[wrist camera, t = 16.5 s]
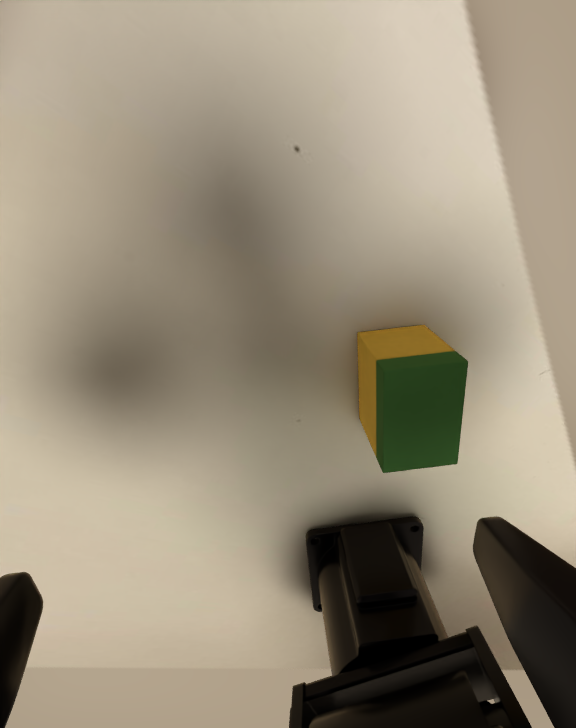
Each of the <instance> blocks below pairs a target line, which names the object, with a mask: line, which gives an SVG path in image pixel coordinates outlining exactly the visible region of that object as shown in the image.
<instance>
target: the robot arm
mask: <svg viewBox="0 0 576 728" xmlns="http://www.w3.org/2000/svg"><path fill="white" fill-rule="evenodd" d="M314 538H317V539H314ZM422 543H423V524H422V522H421V520H420V519H419V518H418V517H405V518H397V519H389V520H381V521H374V522H366V523H358V524H350V525H343V526H335V527H327V528H319V529H313V530H310V531H308V532H307V534H306V545H307V554H308V563H309V572H310V581H311V591H312V600H313V607H314V610H316V611H318V612H323V619H324V625H325V632H326V638H327V645H328V651H329V658H330V665H331V671H332V676H330V677H327V678H324V679H321V680H317V681H314V682H311V683H308V684H306V683H305V682H304V683H301V684H298V685H294V686H293V692H292V707H291V709H290V721H289V728H532V727H531V725H530V723H529V721H528V719H527V718H526V716H525V714H524V712H523V710H522V708H521V706H520V704H519V702H518V701H517V699H516V697H515V695H514V693H513V691H512V689H511V688H510V686H509V684H508V682H507V680H506V678H505V676H504V674H503V673H502V671H501V669H500V667H499V665H498V663H497V661H496V659H495V658H494V656H493V654H492V652H491V650H490V648H489V646H488V644H487V643H486V641H485V639H484V637H483V635H482V633H481V631H480V629H479V628H478V626H474V627H471V628H468V629H466V632H464V633H461V634H458V635H455V636H452V637H449V638H448V635H447V633H446V631H445V628H444V626H443V624H442V621H441V619H440V617H439V614H438V612H437V609H436V607H435V605H434V602H433V600H432V598H431V595H430V593H429V590H428V588H427V586H426V583H425V581H424V579H423V576H422V574H421V559H422ZM473 552H474V556H475V559H476V562H477V564H478V567H479V569H480V572H481V574H482V576H483V579H484V581H485V584H486V586H487V589H488V591H489V593H490V596H491V598H492V601H493V603H494V606H495V608H496V610H497V613H498V615H499V618H500V620H501V623H502V625H503V627H504V630H505V632H506V634H507V637H508V639H509V641H510V643H511V645H512V647H513V649H514V651H515V653H516V655H517V657H518V659H519V661H520V663H521V664H522V666H523V668H524V670H525V672H526V674H527V676H528V678H529V680H530V682H531V684H532V685H533V687H534V689H535V691H536V693H537V695H538V697H539V699H540V701H541V703H542V704H543V707H544V708H545V710H546V712H547V714H548V716H549V718H550V720H551V722H552V724H553V726H554V727H555V728H576V568H575V567H573V566H572V565H570V564H569V563H567V562H566V561H564V560H563V559H561V558H560V557H558V556H557V555H556V554H554V553H553V552H551V551H550V550H548V549H547V548H545V547H544V546H542V545H541V544H539V543H538V542H537V541H535V540H534V539H532V538H531V537H529V536H528V535H526V534H525V533H523V532H522V531H521V530H519V529H518V528H516V527H515V526H513V525H512V524H510V523H509V522H507V521H506V520H504V519H503V518H501V517H487V518H481V519H479V520H478V522H477V526H476V532H475V537H474V543H473ZM42 610H43V599H42V596H41V594H40V592H39V590H38V589H37V587H36V585H35V583H34V581H33V579H32V577H31V576H30V574H28V573H26V572H20V573H12V574H6V575H4V576H2V577H0V728H5V726H6V723H7V721H8V718H9V715H10V713H11V710H12V708H13V705H14V702H15V699H16V696H17V693H18V690H19V687H20V684H21V680H22V677H23V674H24V670H25V667H26V664H27V660H28V657H29V654H30V650H31V647H32V644H33V640H34V637H35V634H36V630H37V627H38V624H39V620H40V617H41V614H42ZM491 699H494V701H495V703H494V704H491V703H489V702H488V701H487V700H491Z"/></svg>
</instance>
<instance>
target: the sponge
mask: <svg viewBox="0 0 576 728" xmlns="http://www.w3.org/2000/svg"><path fill="white" fill-rule="evenodd" d="M357 340H358V382H359V419H360V421H361V423H362V426H363V428H364V430H365V433H366V435H367V437H368V439H369V442H370V444H371V446H372V449H373V451H374V453H375V456H376V458H377V460H378V462H379V465H380V467H381V469H382V472H383V473H388V472H396V471H404V470H412V469H420V468H428V467H436V466H444V465H452V464H457V462H458V452H459V443H460V434H461V424H462V415H463V405H464V396H465V386H466V377H467V367H468V361H467V360H466V359H465V358H463V357H462V356H461V355H460V354H459V353H457V352H456V351H455V350H454V349H453V348H451V347H450V346H449V345H448V344H447V343H445V342H444V341H443V340H442V339H441V338H439V337H438V336H437V335H436V334H435V333H433V332H432V331H431V330H430V329H429V328H427V327H426V326H425V325H418V326H410V327H401V328H392V329H384V330H375V331H366V332H358V333H357Z"/></svg>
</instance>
